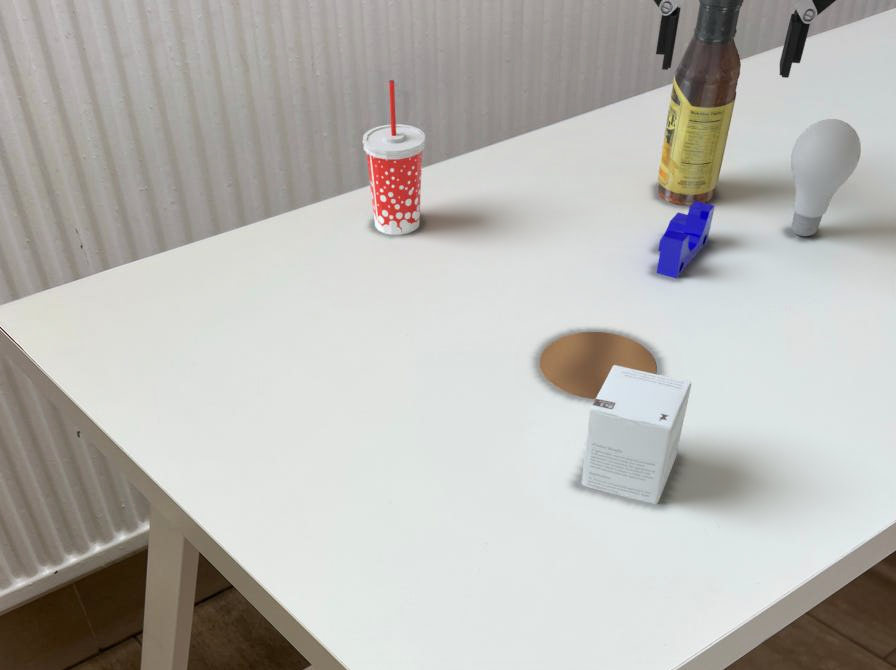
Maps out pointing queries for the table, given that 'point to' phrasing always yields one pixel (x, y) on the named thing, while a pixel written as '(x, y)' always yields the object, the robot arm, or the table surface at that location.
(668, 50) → the robot arm
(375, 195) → the beverage cup
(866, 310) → the table surface
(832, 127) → the lightbulb
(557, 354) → the cork coaster
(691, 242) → the cable holder
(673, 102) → the sauce bottle
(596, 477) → the white cardboard box
